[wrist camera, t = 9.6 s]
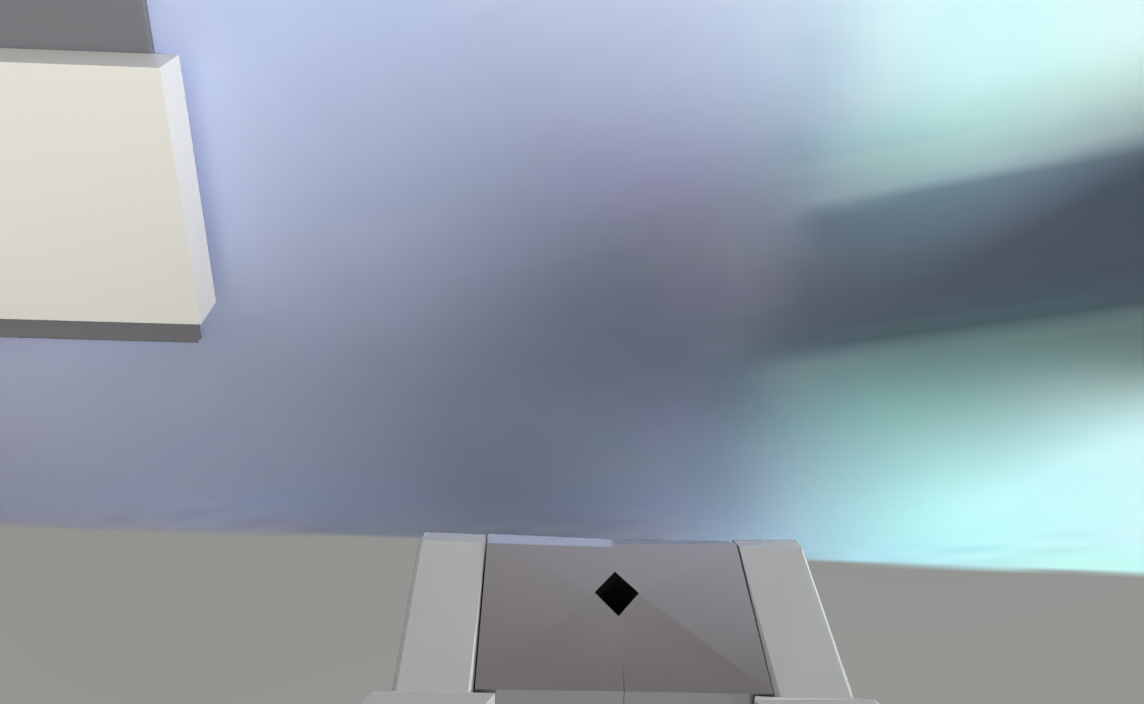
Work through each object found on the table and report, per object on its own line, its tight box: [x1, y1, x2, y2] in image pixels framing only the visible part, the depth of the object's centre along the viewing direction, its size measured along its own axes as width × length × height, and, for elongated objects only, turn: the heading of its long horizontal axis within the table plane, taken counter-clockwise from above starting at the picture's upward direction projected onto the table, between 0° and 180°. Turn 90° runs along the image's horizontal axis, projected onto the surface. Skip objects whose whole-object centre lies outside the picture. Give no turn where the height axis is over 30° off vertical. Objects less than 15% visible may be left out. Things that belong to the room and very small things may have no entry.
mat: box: [0, 0, 201, 343], centre depth 38 cm, size 12×14×1 cm
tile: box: [0, 48, 216, 325], centre depth 37 cm, size 2×10×10 cm
